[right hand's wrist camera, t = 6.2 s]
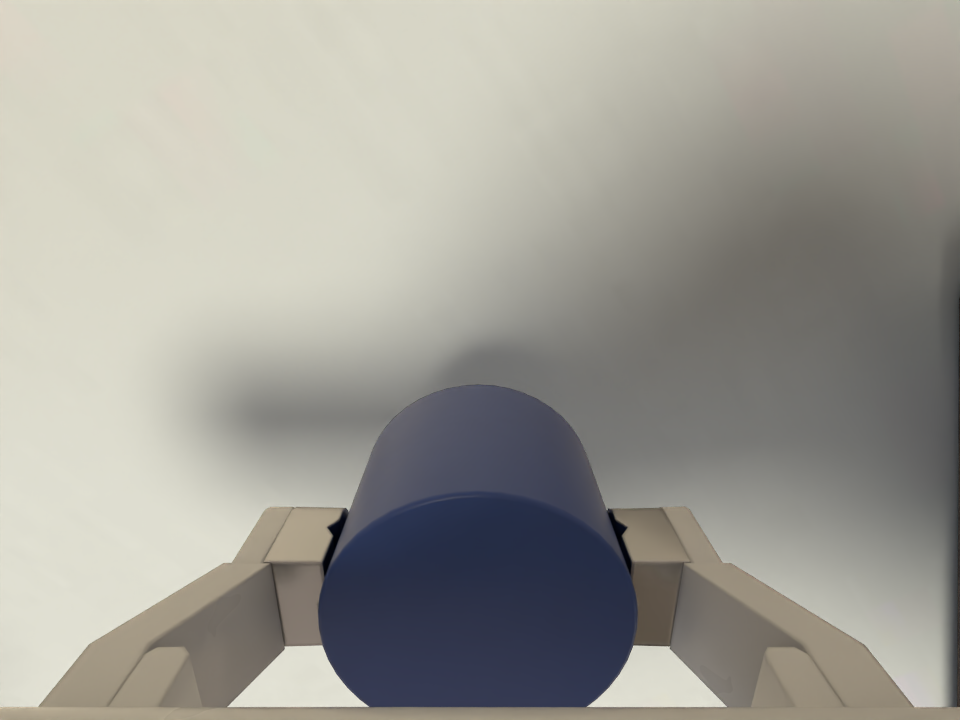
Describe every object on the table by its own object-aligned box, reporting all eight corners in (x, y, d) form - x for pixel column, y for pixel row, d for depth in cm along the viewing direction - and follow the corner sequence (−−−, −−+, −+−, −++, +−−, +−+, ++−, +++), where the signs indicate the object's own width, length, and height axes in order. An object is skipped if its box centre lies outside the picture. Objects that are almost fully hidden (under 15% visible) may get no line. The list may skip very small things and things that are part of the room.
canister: (478, 335, 11) (477, 427, 7) (635, 485, 12) (705, 631, 8) (321, 485, 12) (250, 630, 8) (478, 608, 13) (477, 782, 10)
